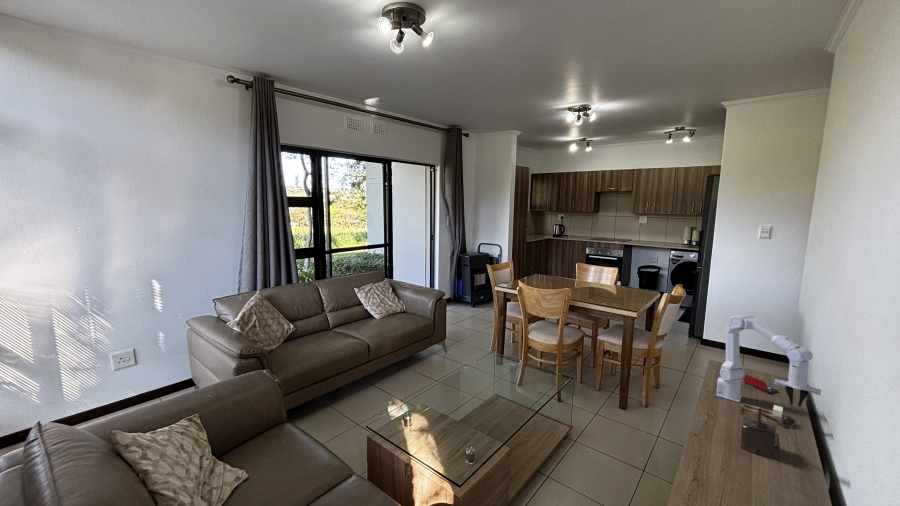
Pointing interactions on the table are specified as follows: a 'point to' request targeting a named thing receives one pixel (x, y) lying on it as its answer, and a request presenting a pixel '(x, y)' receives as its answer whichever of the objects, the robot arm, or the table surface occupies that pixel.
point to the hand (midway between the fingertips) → (795, 404)
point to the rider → (777, 411)
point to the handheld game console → (758, 384)
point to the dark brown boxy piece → (761, 434)
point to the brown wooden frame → (753, 410)
